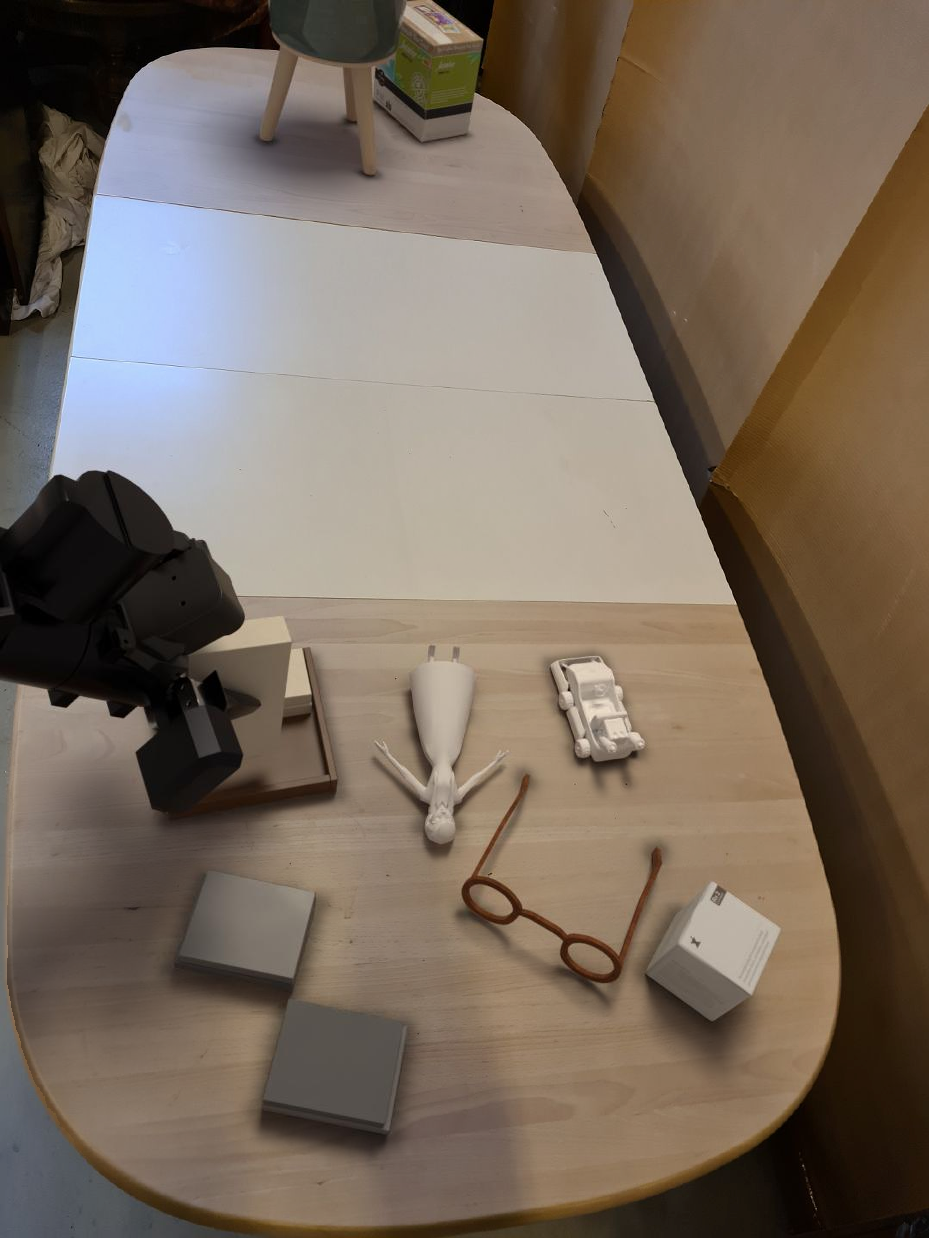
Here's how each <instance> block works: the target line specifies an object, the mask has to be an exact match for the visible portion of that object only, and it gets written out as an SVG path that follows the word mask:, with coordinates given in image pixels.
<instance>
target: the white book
mask: <svg viewBox="0 0 929 1238" xmlns="http://www.w3.org/2000/svg"><path fill="white" fill-rule="evenodd" d="M292 645H293V640H292V637H291V633H290V631H289V627H288V625H287V622H286V619H285V616H284V615H278V616H267V617H260V618H251V619H245V620H244V623H243V625H242V626H241V628H240V629H239V630H238V631H236V632H235V633H233V634H231V635H228V636H223V637H221V638H220V639H218V640H216V641H214V642H212V643H210V644H209V645H207V646H205V647H203V648H201V649H199V650H198V651H196V652H194V653H192V654H190V655H186V656H182V655H180V656H182V657H185V659H186V662H187V665H188V668H189V669H188V670H187V671H186V672H185V673H184V674H183V677H189V678H192V679H193V680H195V681H199V682H202V681H203V680H204V679H205V678H206V677H207V676H209V675H210V674H211V673H212V672H213V671H214V670H216V671H217V673H218V675H219V678H220V681H221V683H222V686H223V687H224V688H227V689H230V690H233V691H237V692H240V693H243V694H246V695H249V696H251V697H253V698H256V699H258V700H260V702H261V707H259V708H258V709H257V710H256V711H255V712H253V713H251V714H249V715H246V716H243V717H240V718H237V719H234V720H231V722H232V725H233V728H234V730H235V733H236V736H237V738H238V741H239V744H240V747H241V749H242V752H243V758H248V757H254V756H259V755H264V754H270V753H275V752H278V749H279V741H280V733H281V725H282V717H283V709H284V701H285V693H286V685H287V677H288V669H289V661H290V653H291V649H292Z"/></svg>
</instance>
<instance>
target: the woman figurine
mask: <svg viewBox="0 0 929 1238" xmlns="http://www.w3.org/2000/svg"><path fill="white" fill-rule="evenodd" d="M436 645H437V644H433V643H429V645H428V648H427V661H426V662H422V663H419V664H418V665H416V666H415V667H413V668H412V669H411V670H409V671H408V676H409V683H410V691H411V697H412V707H413V708H412V709H413V713H414V717H415V722H416V727H417V731H418V735H419V740H420V745H421V748H422V751H423V754H424V757H425V758H426V760H427V761H428V762H429V763H430V765H431V767H432V769H431V770H432V771H431V774H430V777H429V779H428V782H427V785H426V786H425V785H424V784H422V783H421V782H420V781H419V780H418V779H417V778H416V777H415V776H414V775H413V773H412V772H410V771H409V769H407V768H406V767H405V766H404V765H402V764H401V763H400V762H399V761H397V760H396V759H395V758H394V756H392V755H391V754H390V752H389V748H388V746H387V744H386V743H385V741H383V740H382V745H383V746H382V745H380V744H379V742H378V741H377V740H376V739H375V740H374V741H373V744H374V745H375V747H376V748H377V749H378V751H379V752H380V753H381V754H382V755H383V756H384V757H385V758H386V759H387V760H388V761H389V762H390V763H391V764H392V765H393V766H394V768H395V769H396V770H397V771H398V772H399V774H400V775H401V776H402V777H403V778H404V779H405V780H407V782H408V783H409V784H410V785H411V786H412V787H413V788H414V790H415V791H416V792H417V793H418V794H419V796H420V798H419V801H422V802H423V803H425V804H428V805H429V807H428V811H427V813H428V814H427V816H426V818H425V822H424V832H425V834H426V836H427V838H428V840H429V841H432V842H434V843H436V844H439V845H444V844H447V843H450V842H452V841H453V840H454V838H455V836H456V829H457V828H456V822H455V819H454V816H453V815H454V810H455V809H454V806H455V805H458V804H460V803H462V802H463V798H464V797H465V796H466V794H467V792H468V791H470V790H471V789H472V787H474V785H476V784H477V783H478V782H479V781H481V780H482V779H483V777H484V776H485V775H487V774H488V772H490V771H491V770H492V769H493V768H494V767H496V765H497V764H499V762H500V761H501V760H503V759H504V758H505V757H507V754H508V753H509V749H507V750H506V751H505V752H504V751H503V750H502V749H499V752H497V754H496V755H495V757H494V760H493V761H491V762H490V763H489V764H488V765H487V766H485V767H484V768H483V769H482V770H479V771H478V772H476V773H475V774H473V775H472V776H470V778H468V780H467V781H466V782H465V783H464V784H462V785H461V786H460V787H458V785H457V782H456V777H455V773H454V771H453V769H452V767H453V766H454V764H455V763H456V761H457V760H458V758H459V756H460V753H461V749H462V746H463V743H464V738H465V735H466V730H467V726H468V721H469V716H470V714H471V713H470V712H471V710H472V709H471V708H472V704H473V700H474V695H475V690H476V686H477V681H478V677H477V675H476V673H475V671H474V670H473V668H471V667H469V666H467V665H465V664H463V663H461V662H459V658H460V653H461V652H460V651H461V646H458V645H457V646H456V645H453V648H452V657H451V661H447V660H435V652H436ZM501 752H502V754H501Z"/></svg>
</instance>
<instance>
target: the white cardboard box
mask: <svg viewBox="0 0 929 1238" xmlns="http://www.w3.org/2000/svg"><path fill="white" fill-rule="evenodd" d="M781 931H782V929H781V927H780V926H778V925H776V924H775V923H774V922H773V921H771V920H770V919H768V918H767V917H765V916H764V915H763V914H761V913H759V912H758V911H757V910H755V909H754V908H752V907H750V906H749V905H748V904H747V903H745V902H743V901H742V900H740V899H739V898H738V897H736V896H735V895H733V894H732V893H730V892H729V891H727V890H726V889H725V888H724V887H721V885H719V884H718V883H716V882H715V881H709V883H707V884H706V886H704V887H703V888H702V889H701V890H700V891H699V892H698V893H697V894H696V895H695V896H694V897H693V898H692V899H691V900H690V901H689V902H688V903H687V904H686V905H685V906H683V908H682V909H681V910H679V911H678V912H677V913H676V914H675V916H674V917H673V918H672V921H671V922H670V924H669V926H668V928H667V929H666V932H665V934H664V935H663V937H662V939H661V940H660V942H659V944H658V946H657V948H656V950H655V952H654V954H653V956H652V958H651V960H650V962H649V963H648V966H647V968H646V970H645V974H646V975H647V976H648V977H649V978H651V979H652V980H654V981H655V982H656V983H658V984H659V985H660V986H662V987H663V988H664V989H666V990H667V991H668V992H670V993H671V994H673V995H674V996H675V997H677V998H678V999H680V1000H681V1001H683V1002H684V1003H685V1004H687V1005H688V1006H689V1007H690V1008H692V1009H694V1010H695V1011H696V1012H698V1013H699V1014H700V1015H701V1016H703V1017H704V1018H706V1019H708V1020H709V1021H711V1022H714V1021H716V1020H717V1019H718V1018H720V1017H722V1016H723V1015H725V1014H726V1013H727V1012H730V1010H732V1009H734V1008H735V1007H736V1006H738V1005H740V1004H741V1003H743V1002H745V1001H746V1000H747V999H749V998H750V997H752V996H753V995H754V992H755V990H756V988H757V986H758V983H759V981H760V979H761V977H762V975H763V972H764V971H765V968H766V966H767V964H768V962H769V959H770V957H771V955H772V952H773V950H774V948H775V945H776V943H777V941H778V938H779V937H780V935H781Z"/></svg>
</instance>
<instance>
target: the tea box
mask: <svg viewBox="0 0 929 1238" xmlns="http://www.w3.org/2000/svg"><path fill="white" fill-rule="evenodd" d="M483 46H484V38H482V37H481V36H479V35H478V34H476V33H475V32H474V31H473V30H471V29H470V28H469V27H467V26H466V25H465V24H464V23H462V22H461V21H459V20H458V19H457V18H455V17H454V16H453V15H451V14H450V13H449V12H448V11H446V9H444V8H442V7H441V6H440V5H438V4H437V2H434V1H433V0H407V3H406V8H405V12H404V17H403V22H402V26H401V31H400V37H399V45H398V48H397V50H396V53H395V55H394V57H393V58H392V59H391V60H389V61H388V62H386V63H384V64H381V65H378V66H374V78H373V79H374V80H373V91H372V95H373V101H375V103H377V104H379V105H380V106H381V107H382V108H383V109H384V110H385V111H387V113H389V114H390V115H391V116H392V117H393V118H395V119H396V121H398V122H399V124H401V125H402V126H403V127H405V129H407V130H408V131H409V132H410V133H411V134H412V135H413V136H415V138H416V139H417V140H418V141H419V142H420V143H424V142H425V143H426V142H431V141H436V140H441V139H447V138H453V137H457V136H462V135H466V134H468V133H469V127H470V122H471V116H472V110H473V104H474V98H475V92H476V86H477V81H478V77H479V76H478V75H479V69H480V64H481V58H482V50H483Z"/></svg>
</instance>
